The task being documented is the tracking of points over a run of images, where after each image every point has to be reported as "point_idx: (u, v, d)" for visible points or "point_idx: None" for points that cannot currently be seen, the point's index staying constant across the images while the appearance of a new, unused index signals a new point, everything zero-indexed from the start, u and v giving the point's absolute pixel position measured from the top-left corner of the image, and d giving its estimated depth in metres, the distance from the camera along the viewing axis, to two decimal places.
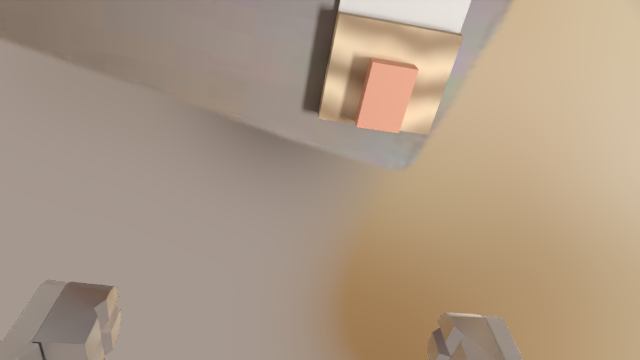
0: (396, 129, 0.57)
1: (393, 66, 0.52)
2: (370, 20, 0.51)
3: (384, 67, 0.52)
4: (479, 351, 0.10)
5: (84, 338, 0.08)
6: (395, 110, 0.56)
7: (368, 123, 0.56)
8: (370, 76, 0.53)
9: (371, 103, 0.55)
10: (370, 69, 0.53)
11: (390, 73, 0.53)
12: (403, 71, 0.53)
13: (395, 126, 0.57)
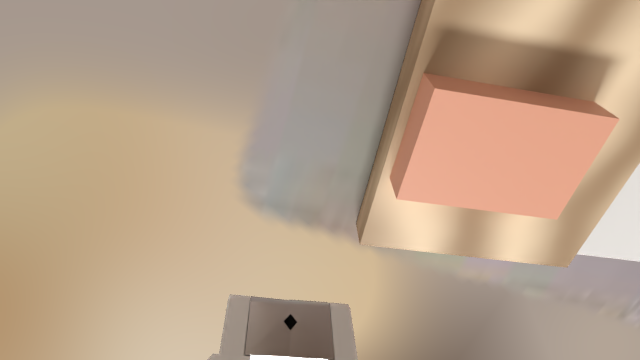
0: (408, 193, 0.21)
1: (586, 167, 0.21)
2: None
3: (593, 147, 0.20)
4: (307, 340, 0.09)
5: (287, 351, 0.09)
6: (465, 184, 0.21)
7: (439, 123, 0.19)
8: (582, 116, 0.19)
9: (501, 125, 0.19)
10: (594, 112, 0.19)
11: (571, 163, 0.21)
12: (565, 190, 0.21)
13: (417, 189, 0.21)
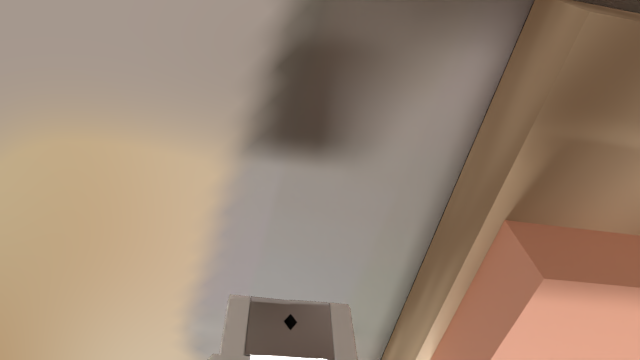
0: None
1: None
2: None
3: None
4: (307, 340, 0.09)
5: (287, 351, 0.09)
6: None
7: (543, 327, 0.10)
8: None
9: None
10: None
11: None
12: None
13: None
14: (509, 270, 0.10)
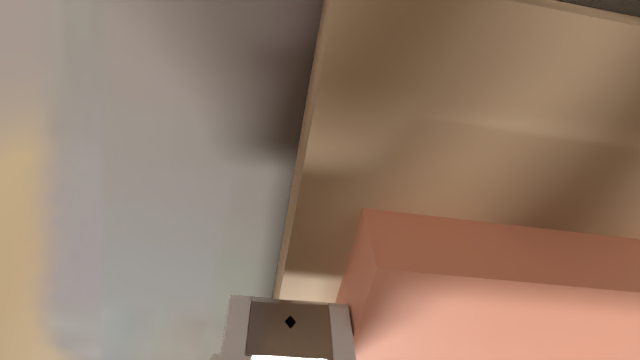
0: None
1: None
2: None
3: None
4: (306, 340, 0.09)
5: (288, 351, 0.09)
6: None
7: (393, 321, 0.09)
8: None
9: (518, 319, 0.10)
10: None
11: None
12: None
13: None
14: (361, 261, 0.10)
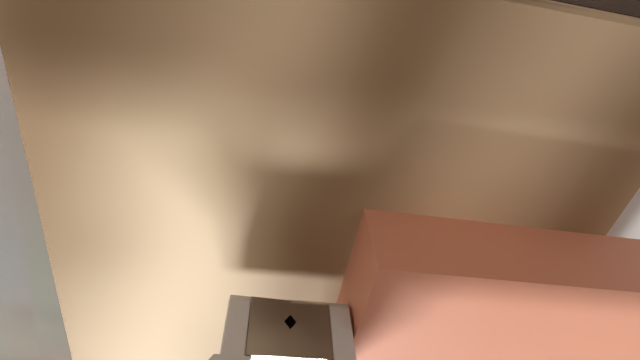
0: None
1: None
2: (624, 202, 0.10)
3: None
4: (306, 340, 0.09)
5: (288, 351, 0.09)
6: None
7: (394, 321, 0.09)
8: None
9: (519, 319, 0.10)
10: None
11: None
12: None
13: None
14: (362, 261, 0.10)
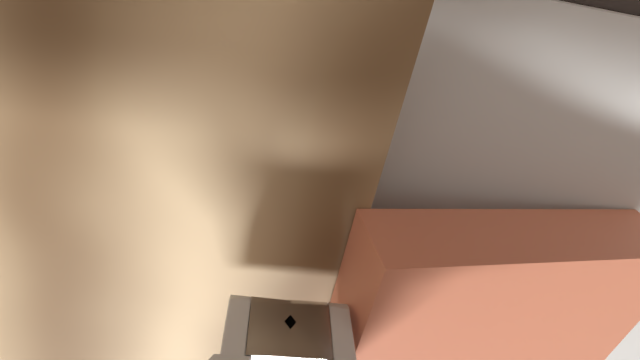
0: None
1: (634, 322, 0.12)
2: (377, 168, 0.10)
3: None
4: (306, 340, 0.09)
5: (288, 351, 0.09)
6: None
7: (399, 316, 0.10)
8: None
9: (510, 298, 0.10)
10: None
11: (614, 322, 0.12)
12: (598, 353, 0.13)
13: None
14: (362, 261, 0.10)
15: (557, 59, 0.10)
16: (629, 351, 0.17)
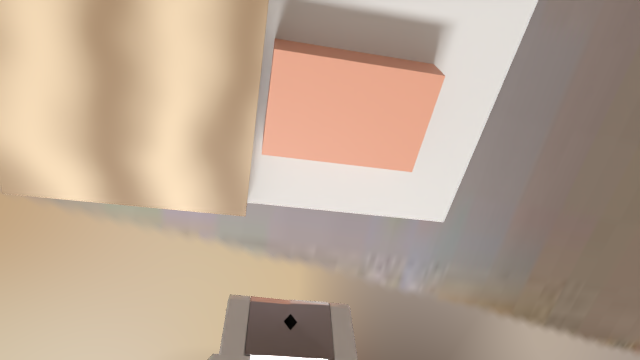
0: (271, 148, 0.24)
1: (427, 122, 0.23)
2: (263, 19, 0.20)
3: (428, 103, 0.23)
4: (307, 340, 0.09)
5: (287, 351, 0.09)
6: (321, 139, 0.23)
7: (285, 81, 0.21)
8: (411, 73, 0.22)
9: (341, 82, 0.22)
10: (424, 71, 0.22)
11: (412, 117, 0.23)
12: (412, 143, 0.24)
13: (278, 145, 0.23)
14: (272, 58, 0.22)
15: None
16: (445, 169, 0.28)
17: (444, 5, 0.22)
